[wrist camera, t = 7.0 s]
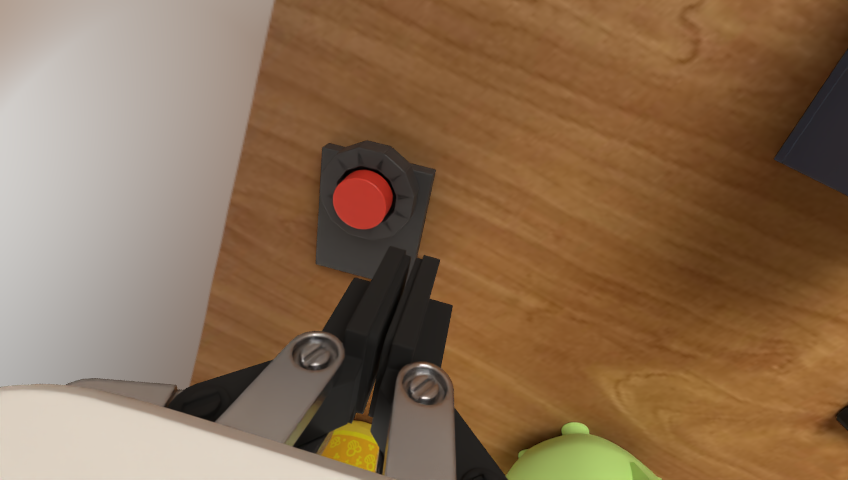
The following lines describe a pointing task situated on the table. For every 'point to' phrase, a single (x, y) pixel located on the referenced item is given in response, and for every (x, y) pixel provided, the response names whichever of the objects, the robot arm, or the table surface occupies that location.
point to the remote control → (843, 417)
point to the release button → (362, 199)
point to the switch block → (398, 227)
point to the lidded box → (823, 134)
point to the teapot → (578, 459)
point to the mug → (353, 446)
